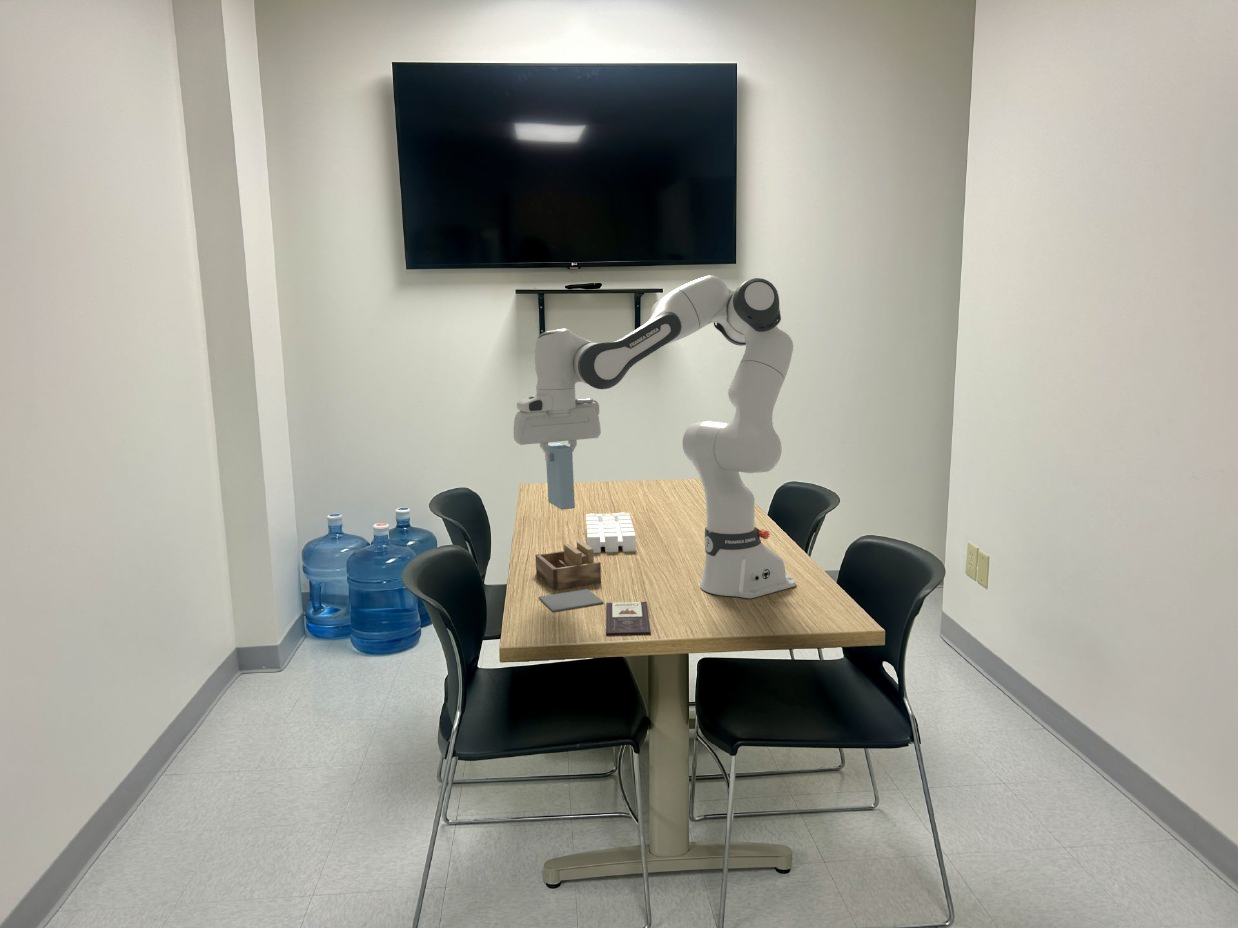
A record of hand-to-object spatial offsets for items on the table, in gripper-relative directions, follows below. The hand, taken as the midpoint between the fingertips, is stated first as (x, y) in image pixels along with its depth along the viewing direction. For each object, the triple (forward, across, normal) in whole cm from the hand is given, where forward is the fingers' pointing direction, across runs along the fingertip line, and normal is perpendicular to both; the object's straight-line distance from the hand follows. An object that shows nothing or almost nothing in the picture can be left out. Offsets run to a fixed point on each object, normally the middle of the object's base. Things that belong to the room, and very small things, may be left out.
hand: (559, 460), depth 190 cm
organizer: (+32, -27, -40) cm, 58 cm away
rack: (+31, -3, -7) cm, 32 cm away
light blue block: (+11, 0, 0) cm, 11 cm away
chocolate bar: (+32, -5, +26) cm, 41 cm away
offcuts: (+29, -6, -7) cm, 31 cm away
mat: (+31, +2, +9) cm, 32 cm away
